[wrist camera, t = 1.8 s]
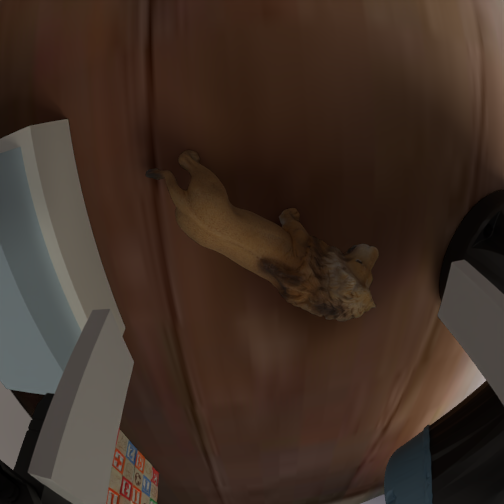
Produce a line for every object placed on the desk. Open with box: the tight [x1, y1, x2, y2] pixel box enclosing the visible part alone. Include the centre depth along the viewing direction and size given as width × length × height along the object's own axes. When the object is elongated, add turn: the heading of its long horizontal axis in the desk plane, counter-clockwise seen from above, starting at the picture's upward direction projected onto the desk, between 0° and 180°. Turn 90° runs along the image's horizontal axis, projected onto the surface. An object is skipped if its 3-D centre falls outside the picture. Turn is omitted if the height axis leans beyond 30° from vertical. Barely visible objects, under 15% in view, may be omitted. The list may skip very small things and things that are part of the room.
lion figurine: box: [146, 150, 379, 321], centre depth 18 cm, size 15×5×9 cm, turn 66°
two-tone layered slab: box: [0, 119, 125, 395], centre depth 17 cm, size 10×18×9 cm, turn 5°
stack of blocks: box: [106, 428, 159, 504], centre depth 30 cm, size 21×6×12 cm, turn 7°
